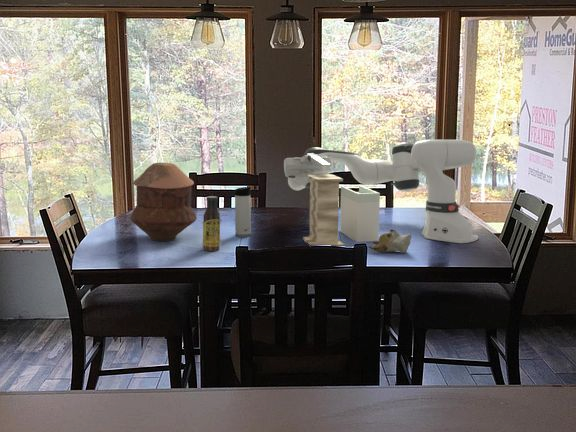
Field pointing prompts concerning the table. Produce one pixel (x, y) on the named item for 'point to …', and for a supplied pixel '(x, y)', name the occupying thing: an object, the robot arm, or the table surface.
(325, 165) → the aluminium bar
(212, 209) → the sauce bottle
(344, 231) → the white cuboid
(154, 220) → the pottery vessel
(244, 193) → the travel mug
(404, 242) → the ceramic sculpture
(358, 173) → the robot arm
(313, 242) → the birch pedestal
